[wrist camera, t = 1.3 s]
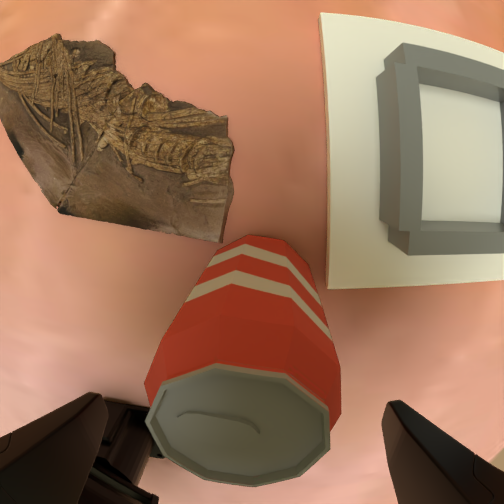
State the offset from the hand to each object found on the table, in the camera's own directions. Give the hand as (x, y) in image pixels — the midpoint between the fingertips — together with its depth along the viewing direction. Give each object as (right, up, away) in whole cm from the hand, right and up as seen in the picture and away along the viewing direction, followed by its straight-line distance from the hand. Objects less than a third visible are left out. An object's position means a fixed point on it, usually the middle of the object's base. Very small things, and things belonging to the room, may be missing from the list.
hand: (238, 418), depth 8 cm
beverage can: (+1, +3, +11) cm, 11 cm away
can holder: (+12, +11, +8) cm, 18 cm away
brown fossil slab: (-12, +14, +9) cm, 20 cm away
